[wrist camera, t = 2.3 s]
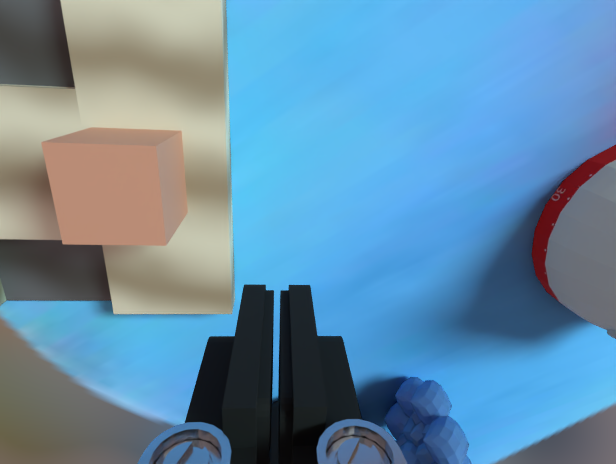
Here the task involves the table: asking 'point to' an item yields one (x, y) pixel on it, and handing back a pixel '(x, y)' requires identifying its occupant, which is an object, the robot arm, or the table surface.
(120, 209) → the block
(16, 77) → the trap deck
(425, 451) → the grapes
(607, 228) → the kitchen timer
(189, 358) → the table surface
